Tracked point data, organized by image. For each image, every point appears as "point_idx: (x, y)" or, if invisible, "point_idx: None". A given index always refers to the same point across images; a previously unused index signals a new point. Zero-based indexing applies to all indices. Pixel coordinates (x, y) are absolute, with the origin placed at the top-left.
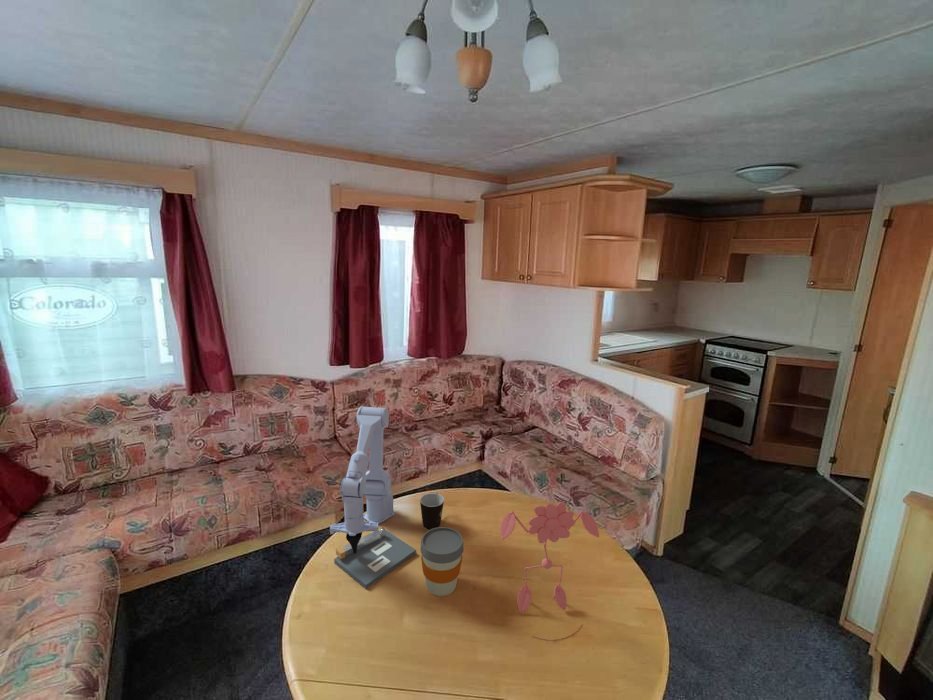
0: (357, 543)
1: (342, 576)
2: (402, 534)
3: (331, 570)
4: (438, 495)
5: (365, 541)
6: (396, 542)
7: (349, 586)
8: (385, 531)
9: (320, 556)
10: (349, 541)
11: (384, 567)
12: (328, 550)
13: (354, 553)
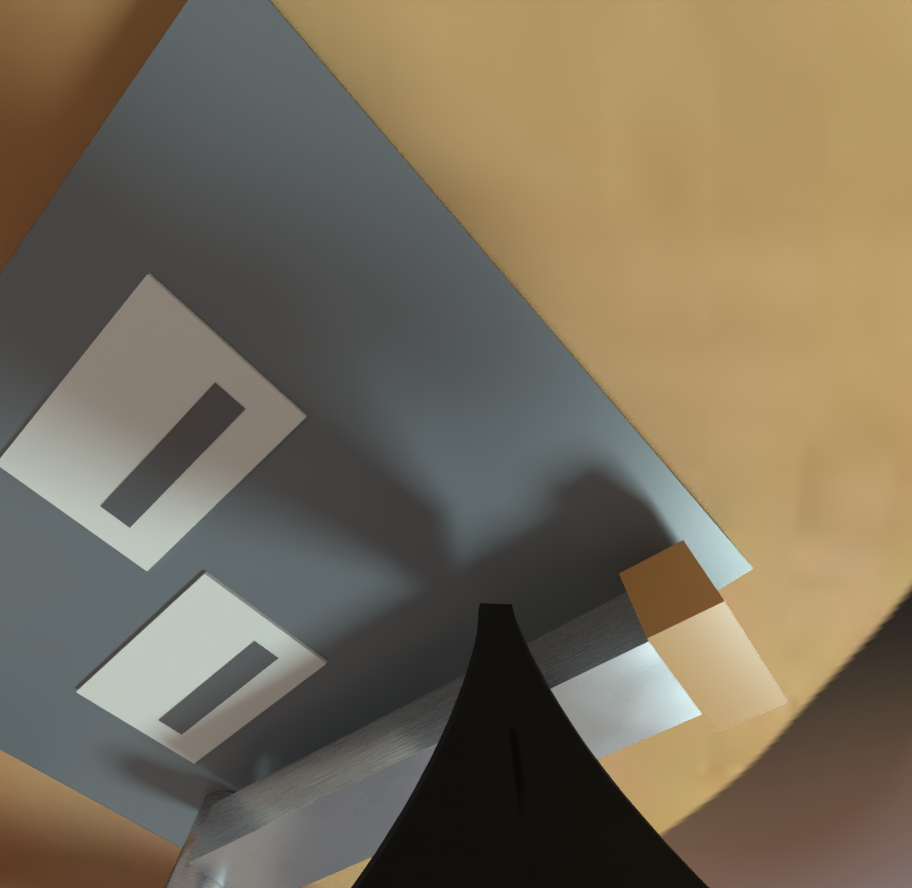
0: (437, 769)
1: (628, 310)
2: (81, 807)
3: (763, 427)
4: None
5: (369, 776)
6: (51, 731)
7: (522, 91)
8: None
9: (865, 634)
10: (643, 847)
11: (42, 356)
12: None
13: (500, 605)
